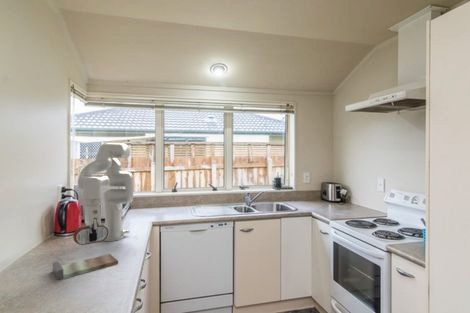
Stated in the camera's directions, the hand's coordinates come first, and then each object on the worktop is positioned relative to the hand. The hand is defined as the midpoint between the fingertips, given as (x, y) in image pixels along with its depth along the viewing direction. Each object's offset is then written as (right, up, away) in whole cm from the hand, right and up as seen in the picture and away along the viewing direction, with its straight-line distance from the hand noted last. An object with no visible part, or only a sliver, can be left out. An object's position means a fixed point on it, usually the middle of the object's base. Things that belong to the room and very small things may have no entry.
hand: (92, 239), depth 128 cm
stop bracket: (-10, -13, -9) cm, 19 cm away
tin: (0, -2, 0) cm, 2 cm away
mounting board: (-1, -13, -1) cm, 13 cm away
